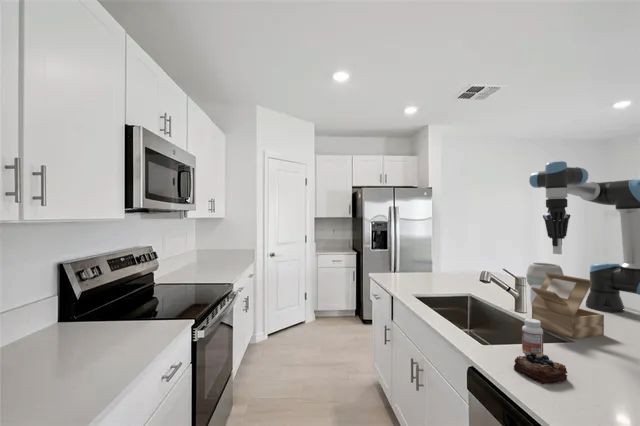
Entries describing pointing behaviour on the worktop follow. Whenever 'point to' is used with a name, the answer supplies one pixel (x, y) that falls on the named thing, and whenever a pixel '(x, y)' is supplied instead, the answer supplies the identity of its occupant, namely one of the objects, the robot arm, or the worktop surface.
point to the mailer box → (570, 322)
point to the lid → (561, 294)
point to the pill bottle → (532, 337)
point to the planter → (541, 272)
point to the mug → (532, 293)
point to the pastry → (540, 368)
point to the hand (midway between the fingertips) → (557, 253)
